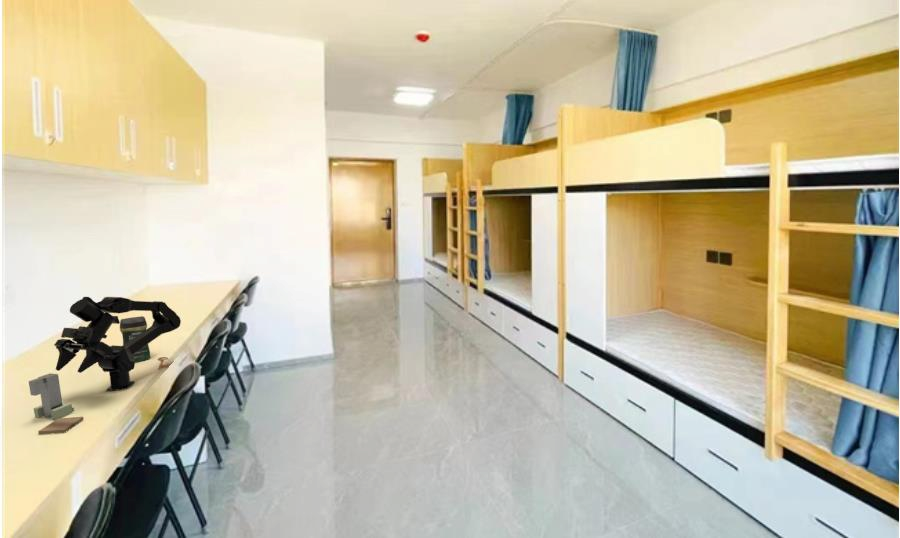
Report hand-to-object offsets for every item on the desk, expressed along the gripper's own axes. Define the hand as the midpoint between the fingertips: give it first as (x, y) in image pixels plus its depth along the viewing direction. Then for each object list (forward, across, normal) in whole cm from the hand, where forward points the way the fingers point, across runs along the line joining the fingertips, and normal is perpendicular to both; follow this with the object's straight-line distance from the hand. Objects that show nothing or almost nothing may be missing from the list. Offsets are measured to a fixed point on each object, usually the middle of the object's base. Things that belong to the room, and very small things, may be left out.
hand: (67, 371), depth 147 cm
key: (-20, -6, +38) cm, 43 cm away
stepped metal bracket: (+14, 0, +4) cm, 14 cm away
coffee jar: (-21, -20, +38) cm, 48 cm away
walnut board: (+17, +11, +1) cm, 20 cm away
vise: (+13, 0, +5) cm, 14 cm away
